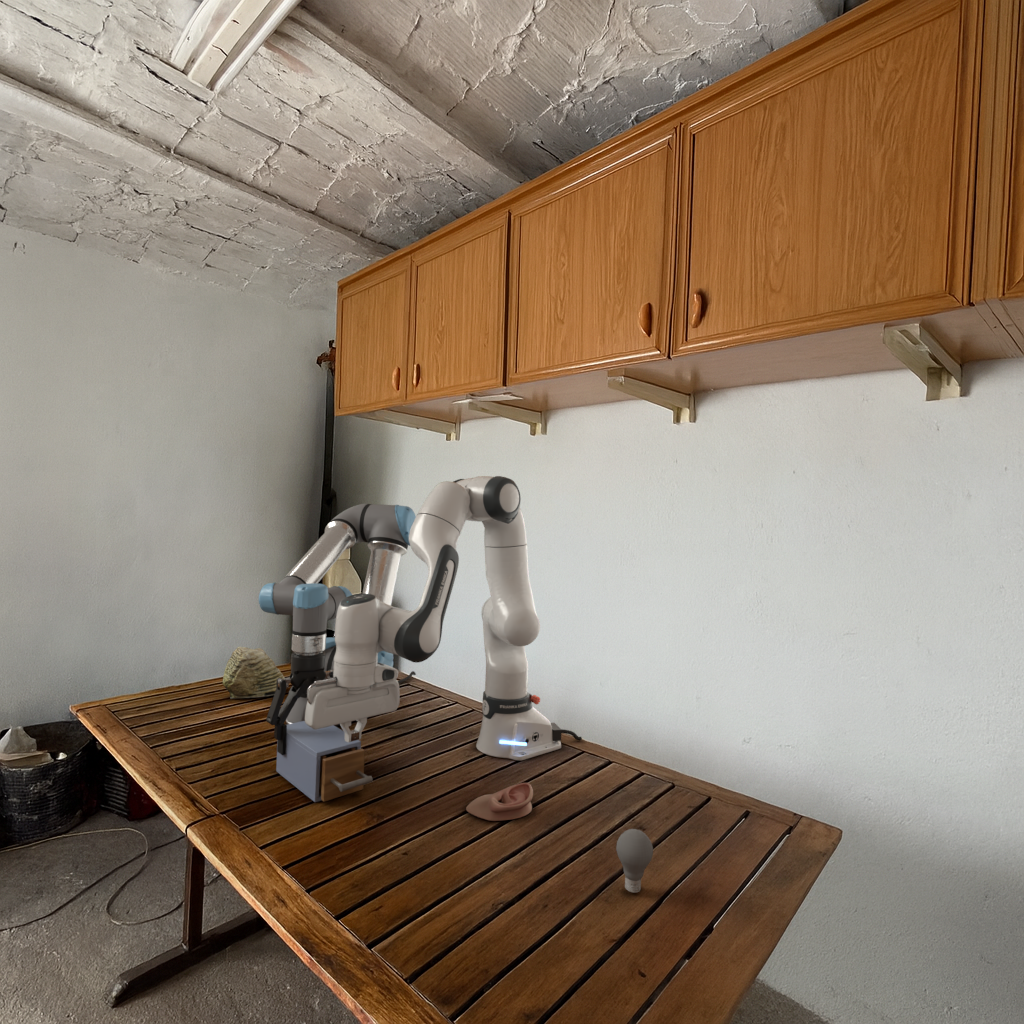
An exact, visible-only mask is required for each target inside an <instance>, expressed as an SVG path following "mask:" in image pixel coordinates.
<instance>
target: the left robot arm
mask: <svg viewBox="0 0 1024 1024" xmlns="http://www.w3.org/2000/svg"><path fill="white" fill-rule="evenodd" d="M416 516H417V515H416V513H415V512H414V510H413V508H412V507H410V506H407V505H400V504H380V503H379V504H377V503H360V504H356V505H353V506H351V507H348V508H347V509H345V510H343V511H342V512H340V513H339V514H337V515H336V516H334V517H333V518H332V519H331V520H330V521H329V522H328V523H327V525H326V526H325V528H324V533H323V534H322V535H321V536H320V537H319V538H318V539H317V541H316V542H315V543H314V544H313V545H312V546H311V547H310V549H308V551H307V552H306V553H305V554H304V555H302V557H301V558H300V560H299V561H298V562H297V563H296V564H295V565H294V566H292V568H291V569H290V570H289V572H288V573H287V574H286V575H285V576H284V577H283V578H282V579H281V581H280V582H278V583H277V582H268V583H265V584H264V585H263V586H262V587H261V589H260V590H259V593H258V604H259V607H260V610H261V611H263V612H264V613H267V614H273V615H278V616H279V615H280V616H292V631H291V632H292V633H291V652H292V653H291V654H290V655H291V656H290V674H289V676H288V677H285V678H284V679H282V678H278V679H277V681H276V691H275V694H274V695H273V697H272V701H271V704H270V706H269V709H268V712H267V715H266V718H265V722H266V723H268V724H269V725H271V726H274V731H273V737H274V739H275V740H276V741H277V740H278V746H277V745H276V753H277V752H279V753H280V754H281V755H285V754H286V733H287V725H288V724H292V723H297V722H301V721H305V712H306V705H307V690H308V688H309V687H310V686H311V685H312V684H313V683H314V682H315V681H317V680H325V679H328V678H333V669H334V656H335V653H336V643H335V637H334V636H333V637H327V626H328V625H327V624H328V621H331V620H334V619H336V615H337V610H338V607H339V604H340V602H341V601H342V600H343V599H344V598H346V597H348V596H351V595H353V593H352V592H351V590H350V589H349V588H347V587H346V586H343V585H341V586H340V585H338V586H336V585H333V586H330V587H328V586H327V585H326V584H324V583H319V582H320V581H321V580H322V579H323V577H325V575H326V574H327V573H328V571H329V570H330V569H331V568H332V567H333V565H334V564H335V563H336V562H337V561H338V559H339V558H340V557H341V556H342V555H343V553H344V552H345V551H346V550H349V549H351V548H353V547H354V545H355V544H358V543H367V545H366V546H367V547H368V550H370V556H369V561H368V565H367V571H366V575H365V580H364V585H363V589H362V593H361V594H372V595H375V596H376V598H377V599H378V600H380V601H381V602H383V603H385V604H388V605H390V606H392V604H393V599H394V598H393V597H394V592H395V587H396V582H397V577H398V574H399V573H398V571H399V567H400V561H401V558H402V557H403V556H405V555H406V554H407V553H408V548H409V547H411V546H410V543H409V533H410V529H411V526H412V524H413V522H414V520H415V518H416ZM377 656H378V663H382V664H385V665H388V666H391V667H393V668H394V654H391V653H388V652H385V651H380V652H378V654H377ZM416 675H417V673H416V671H414V670H412V671H410V673H409V675H407V676H405V677H403V678H401V679H399V680H397V681H398V683H399V684H402V683H404V682H406V681H408V680H410V679H411V678H412V677H413V676H416ZM289 685H291V687H290V689H289V690H288V695H287V696H286V693H287V689H288V688H289ZM314 686H315V685H314ZM312 687H313V686H312ZM285 696H286V698H285ZM284 699H285V700H284ZM334 726H336V727H337V728H338V727H339V726H340V724H337V725H334Z"/></svg>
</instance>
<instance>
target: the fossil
mask: <svg viewBox="0 0 1024 1024" xmlns="http://www.w3.org/2000/svg"><path fill="white" fill-rule="evenodd" d="M222 676H223V677H222V685H223V687H224V688H225V690H226V691H228V693H229V698H230V699H250V698H264V697H271V696H274V694H275V691H276V681H277V679H278V678H282V679H284V678H286V677H285V676H284V674H283V673H282V672H281V669H279V668H278V667H277V665H276V663H275V662H274V660H273V659H272V658H271V657H270V656H269V655H268V654H267V653H266V652H265V650H264V649H263V648H260V647H258V648H251V647H247V646H246V647H245V646H238V647H237V648H236V649H235V650H233V651H232V653H231V656H230V657H229V659H228V660H227V663H226V666H225V668H224V671H223V675H222Z"/></svg>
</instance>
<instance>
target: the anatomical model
mask: <svg viewBox="0 0 1024 1024" xmlns="http://www.w3.org/2000/svg"><path fill="white" fill-rule="evenodd" d="M533 797H534V789H533V787H532V784H530V783H529V782H521V783H517V784H514V785H510V786H508V787H506V788H503V789H501V790H499V791H497V792H494V793H490V794H484V795H480V796H478V797H477V798H475V799H474V800H472V801H470V802H469V804H467V806H466V807H465V810H466V812H468V813H469V814H470V815H472V816H474V817H477V818H479V819H482V820H486V821H491V822H498V821H499V822H500V821H508V820H515V819H520V818H523V817H525V816H527V815H529V814H530V813H531V812H532V809H533V805H532V800H533Z"/></svg>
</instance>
